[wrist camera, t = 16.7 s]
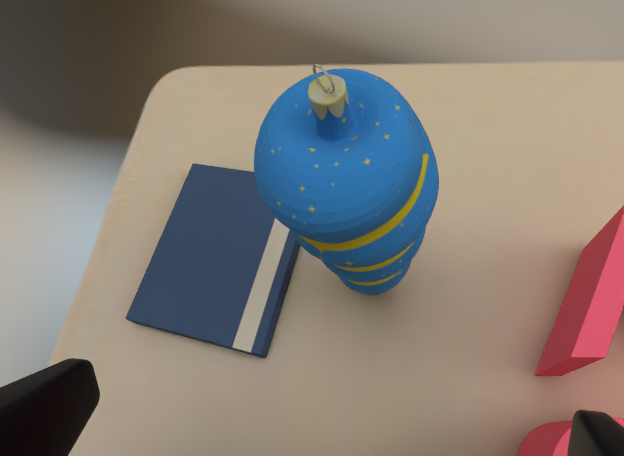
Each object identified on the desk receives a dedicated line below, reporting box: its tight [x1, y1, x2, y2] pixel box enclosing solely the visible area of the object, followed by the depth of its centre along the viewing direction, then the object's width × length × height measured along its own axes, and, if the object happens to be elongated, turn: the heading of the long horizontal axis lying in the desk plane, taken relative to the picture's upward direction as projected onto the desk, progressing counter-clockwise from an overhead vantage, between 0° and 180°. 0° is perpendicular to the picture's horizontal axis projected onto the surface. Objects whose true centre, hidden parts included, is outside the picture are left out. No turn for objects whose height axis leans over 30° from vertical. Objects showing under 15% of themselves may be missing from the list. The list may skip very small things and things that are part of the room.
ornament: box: [254, 64, 439, 295], centre depth 16 cm, size 5×5×15 cm
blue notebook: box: [126, 164, 300, 358], centre depth 25 cm, size 10×8×1 cm
